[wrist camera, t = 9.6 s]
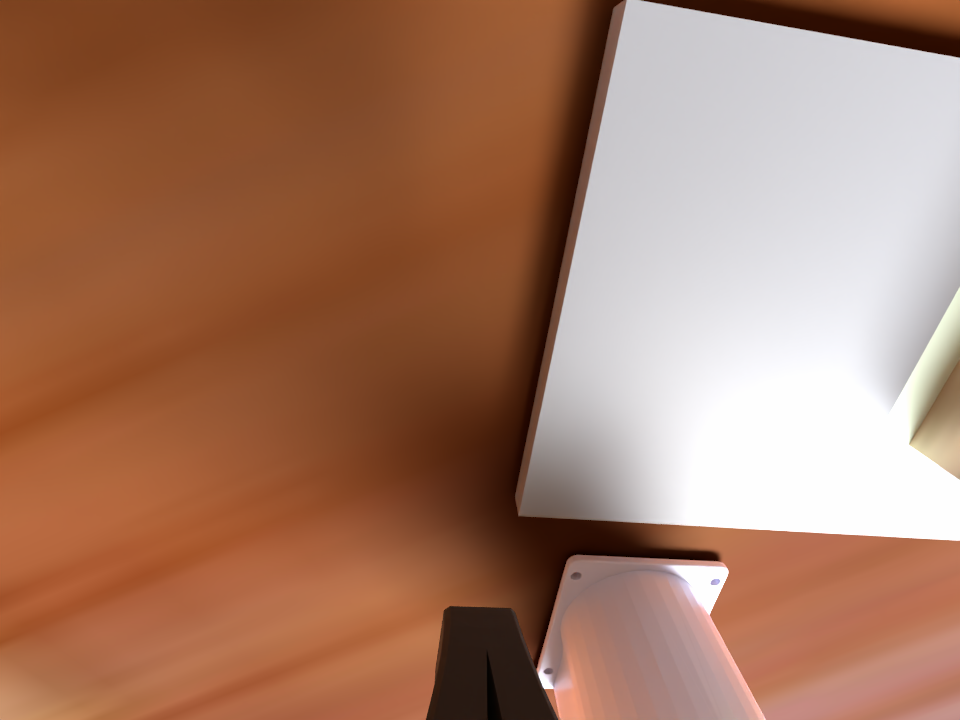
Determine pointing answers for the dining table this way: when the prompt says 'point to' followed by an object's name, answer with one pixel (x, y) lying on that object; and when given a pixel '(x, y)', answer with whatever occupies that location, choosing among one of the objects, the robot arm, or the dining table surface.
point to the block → (942, 427)
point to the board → (754, 285)
